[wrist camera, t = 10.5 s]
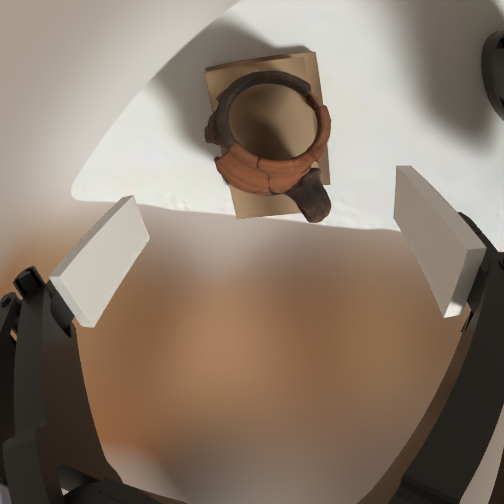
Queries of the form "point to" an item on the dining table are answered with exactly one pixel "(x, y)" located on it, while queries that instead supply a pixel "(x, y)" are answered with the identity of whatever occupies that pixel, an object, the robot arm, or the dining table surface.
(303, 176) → the broken clay pot
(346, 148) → the dining table surface
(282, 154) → the stand
